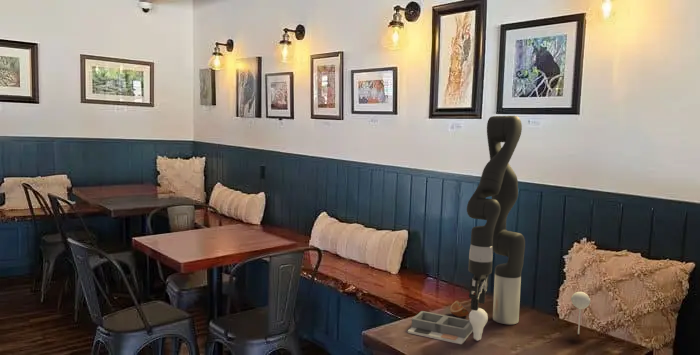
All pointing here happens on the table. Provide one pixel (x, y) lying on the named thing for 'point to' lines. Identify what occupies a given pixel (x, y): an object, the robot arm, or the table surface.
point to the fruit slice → (458, 309)
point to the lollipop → (580, 303)
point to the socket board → (441, 327)
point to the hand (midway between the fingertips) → (477, 306)
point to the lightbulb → (478, 322)
